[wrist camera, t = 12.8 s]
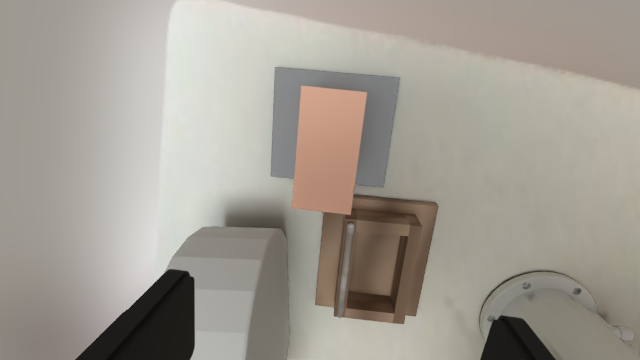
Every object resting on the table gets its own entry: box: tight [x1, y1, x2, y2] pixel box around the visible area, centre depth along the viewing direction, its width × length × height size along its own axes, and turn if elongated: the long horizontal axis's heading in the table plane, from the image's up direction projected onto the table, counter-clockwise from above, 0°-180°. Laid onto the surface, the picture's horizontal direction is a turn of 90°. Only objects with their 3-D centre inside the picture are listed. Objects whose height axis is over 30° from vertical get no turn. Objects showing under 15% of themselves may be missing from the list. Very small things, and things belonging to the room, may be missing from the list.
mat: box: [271, 67, 400, 187], centre depth 32 cm, size 12×11×1 cm
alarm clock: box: [165, 226, 290, 360], centre depth 29 cm, size 21×8×20 cm, turn 0°
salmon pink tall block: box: [292, 86, 367, 215], centre depth 26 cm, size 4×8×12 cm, turn 174°
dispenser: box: [315, 195, 438, 324], centre depth 34 cm, size 12×14×5 cm
